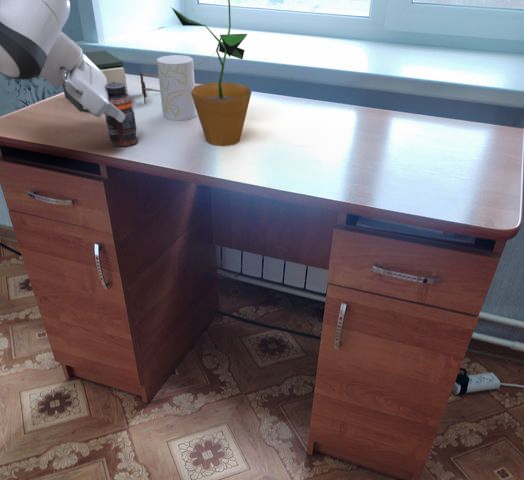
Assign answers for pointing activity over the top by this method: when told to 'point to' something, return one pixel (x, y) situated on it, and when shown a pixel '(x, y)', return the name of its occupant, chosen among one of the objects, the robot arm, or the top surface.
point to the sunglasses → (144, 85)
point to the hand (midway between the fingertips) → (122, 113)
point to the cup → (176, 87)
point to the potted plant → (221, 94)
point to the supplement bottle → (127, 129)
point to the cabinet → (101, 61)
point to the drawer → (114, 75)
